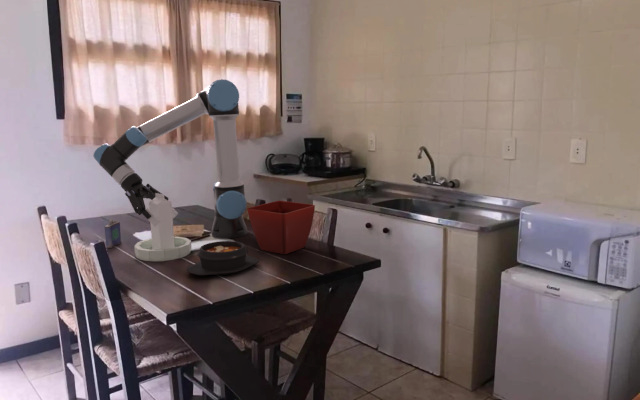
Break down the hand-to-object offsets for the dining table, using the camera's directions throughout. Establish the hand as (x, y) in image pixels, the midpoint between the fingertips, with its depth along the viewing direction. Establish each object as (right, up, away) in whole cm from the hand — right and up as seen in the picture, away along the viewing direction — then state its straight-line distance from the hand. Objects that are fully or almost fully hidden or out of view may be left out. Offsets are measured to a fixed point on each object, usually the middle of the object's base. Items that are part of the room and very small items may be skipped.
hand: (166, 219), depth 197 cm
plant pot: (+43, -12, +8) cm, 45 cm away
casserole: (+24, -17, -17) cm, 34 cm away
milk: (-2, -12, +3) cm, 13 cm away
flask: (-26, -11, +15) cm, 32 cm away
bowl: (-2, -13, +3) cm, 13 cm away
